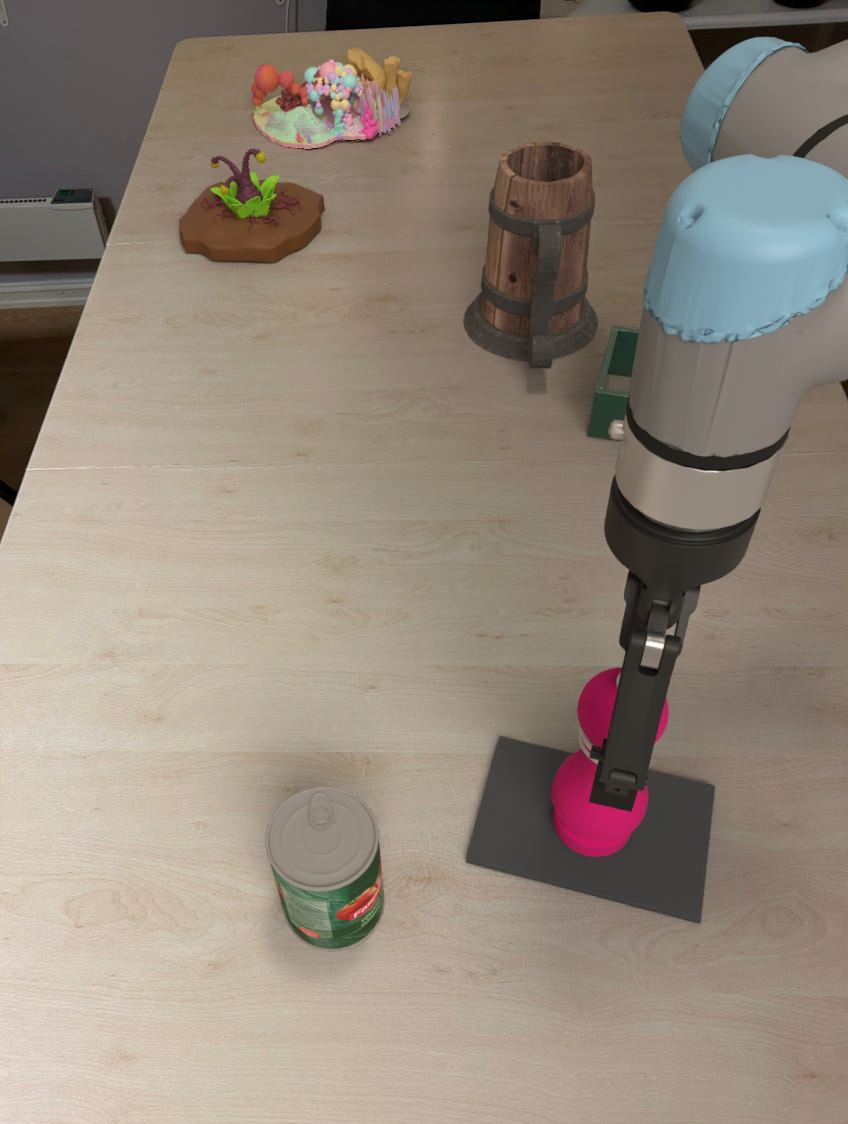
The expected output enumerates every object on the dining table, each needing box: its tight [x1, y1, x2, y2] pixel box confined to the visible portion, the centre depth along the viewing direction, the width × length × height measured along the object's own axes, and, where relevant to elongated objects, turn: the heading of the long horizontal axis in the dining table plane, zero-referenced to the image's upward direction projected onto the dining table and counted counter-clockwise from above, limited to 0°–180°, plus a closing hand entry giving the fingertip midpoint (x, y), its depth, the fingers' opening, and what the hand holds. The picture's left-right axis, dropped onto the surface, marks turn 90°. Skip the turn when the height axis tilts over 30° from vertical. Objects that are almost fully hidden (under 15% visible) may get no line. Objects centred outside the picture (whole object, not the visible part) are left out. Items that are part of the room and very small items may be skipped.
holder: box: [587, 325, 640, 442], centre depth 108 cm, size 13×13×6 cm
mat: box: [465, 735, 716, 924], centre depth 78 cm, size 18×12×1 cm, turn 73°
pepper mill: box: [551, 666, 670, 857], centre depth 70 cm, size 7×7×20 cm
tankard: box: [463, 141, 599, 370], centre depth 112 cm, size 24×17×20 cm
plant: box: [178, 147, 326, 264], centre depth 135 cm, size 20×20×11 cm
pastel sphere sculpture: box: [250, 46, 413, 150], centre depth 157 cm, size 25×24×9 cm
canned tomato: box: [264, 785, 386, 952], centre depth 71 cm, size 8×8×11 cm
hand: (626, 717), depth 66 cm, fingers open, 13 cm apart
